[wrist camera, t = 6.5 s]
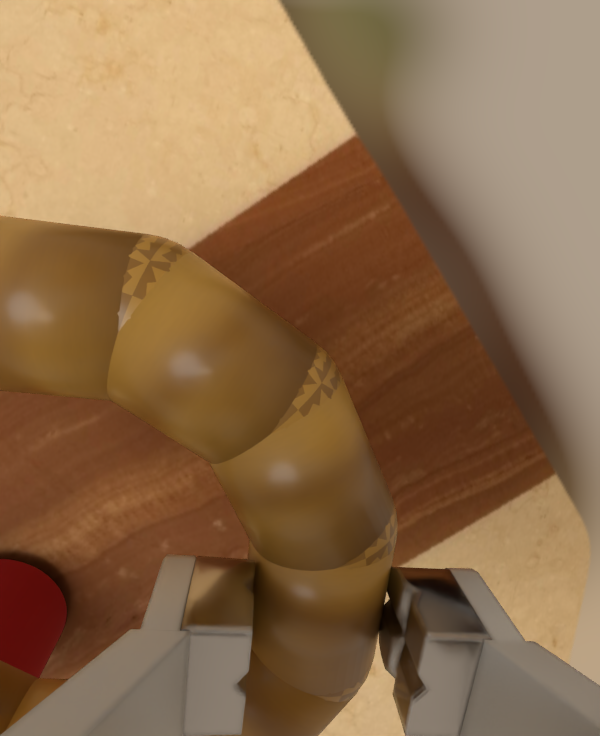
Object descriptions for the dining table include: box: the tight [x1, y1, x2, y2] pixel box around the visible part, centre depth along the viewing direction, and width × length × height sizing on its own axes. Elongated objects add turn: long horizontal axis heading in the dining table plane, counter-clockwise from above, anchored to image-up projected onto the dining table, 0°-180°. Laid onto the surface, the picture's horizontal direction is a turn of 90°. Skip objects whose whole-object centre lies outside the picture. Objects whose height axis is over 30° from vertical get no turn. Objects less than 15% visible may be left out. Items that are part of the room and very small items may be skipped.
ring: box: [0, 216, 397, 736], centre depth 8 cm, size 12×12×3 cm
